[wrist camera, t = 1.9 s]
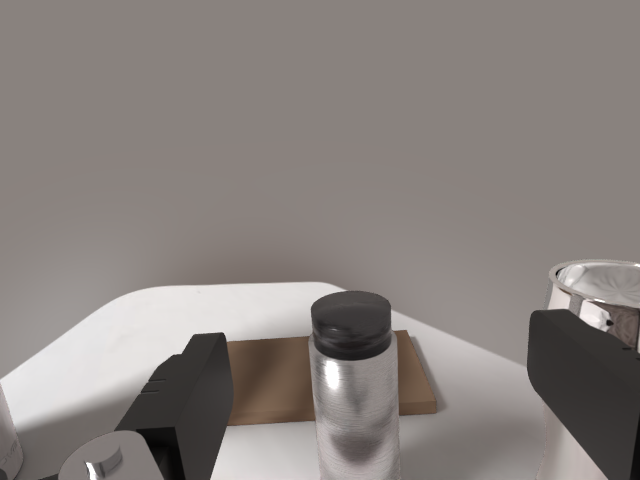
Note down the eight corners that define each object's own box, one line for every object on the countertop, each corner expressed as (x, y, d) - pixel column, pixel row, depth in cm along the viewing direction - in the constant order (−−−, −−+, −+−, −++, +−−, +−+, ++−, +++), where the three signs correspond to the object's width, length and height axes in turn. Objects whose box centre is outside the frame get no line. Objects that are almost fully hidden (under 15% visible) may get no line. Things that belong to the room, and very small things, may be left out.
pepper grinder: (323, 544, 24) (303, 331, 20) (322, 474, 29) (306, 291, 25) (408, 540, 24) (404, 325, 20) (393, 470, 29) (388, 286, 25)
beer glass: (516, 455, 29) (530, 257, 25) (628, 468, 28) (663, 258, 23) (542, 551, 23) (568, 306, 19) (691, 576, 21) (755, 312, 17)
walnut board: (198, 427, 34) (196, 415, 34) (228, 351, 46) (227, 341, 46) (436, 413, 34) (436, 400, 34) (406, 339, 46) (406, 330, 45)
